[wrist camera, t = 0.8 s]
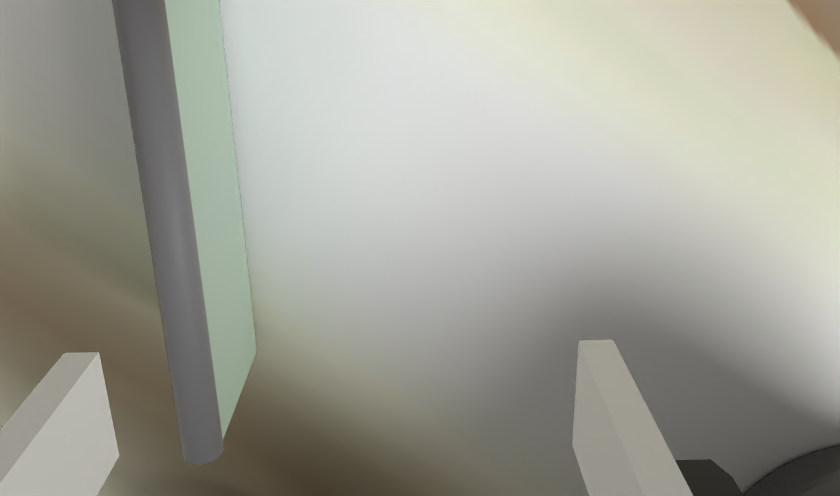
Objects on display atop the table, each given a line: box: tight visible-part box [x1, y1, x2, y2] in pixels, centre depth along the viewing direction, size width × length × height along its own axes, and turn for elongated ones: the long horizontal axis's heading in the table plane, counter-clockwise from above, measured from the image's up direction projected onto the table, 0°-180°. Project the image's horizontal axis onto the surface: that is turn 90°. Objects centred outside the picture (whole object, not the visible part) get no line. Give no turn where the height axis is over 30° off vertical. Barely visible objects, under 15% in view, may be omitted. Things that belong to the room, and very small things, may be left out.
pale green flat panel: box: [112, 0, 257, 464], centre depth 31 cm, size 21×2×9 cm, turn 1°
